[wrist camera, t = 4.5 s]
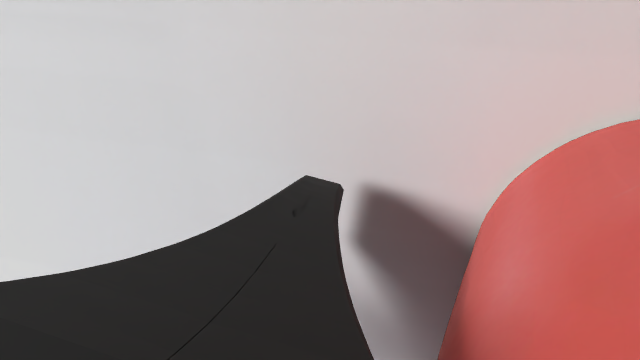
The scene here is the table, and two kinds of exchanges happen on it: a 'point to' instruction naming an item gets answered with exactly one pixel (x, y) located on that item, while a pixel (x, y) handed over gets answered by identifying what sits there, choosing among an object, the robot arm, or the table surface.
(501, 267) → the flower pot
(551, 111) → the table surface
